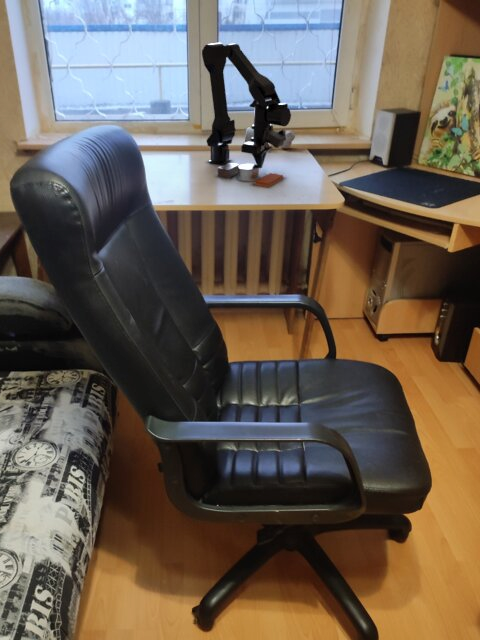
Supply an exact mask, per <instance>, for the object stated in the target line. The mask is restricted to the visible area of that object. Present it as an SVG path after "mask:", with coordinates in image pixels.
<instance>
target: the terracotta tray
mask: <svg viewBox="0 0 480 640" xmlns="http://www.w3.org/2000/svg"><path fill="white" fill-rule="evenodd" d="M283 179H284V175H283V174H279V173H273V172H270V173H268V174H265V175H264V176H262V177H260V178H259V179H258V180H256V181H254V183H253V185H254V186H258V187H264V188H269V187H271V186H273V185H274V184H277V183H278V182H280V181H282V180H283Z"/></svg>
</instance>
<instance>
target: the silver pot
mask: <svg viewBox="0 0 480 640" xmlns="http://www.w3.org/2000/svg"><path fill="white" fill-rule="evenodd" d="M237 175H238V176H237V179H238V180H239V181H241V182H256V181H257V180H259V179H260V178H259V177H260V168H259V166H258V165H257V164H256V163H243V164H240V166H239V170H238V174H237Z"/></svg>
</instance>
